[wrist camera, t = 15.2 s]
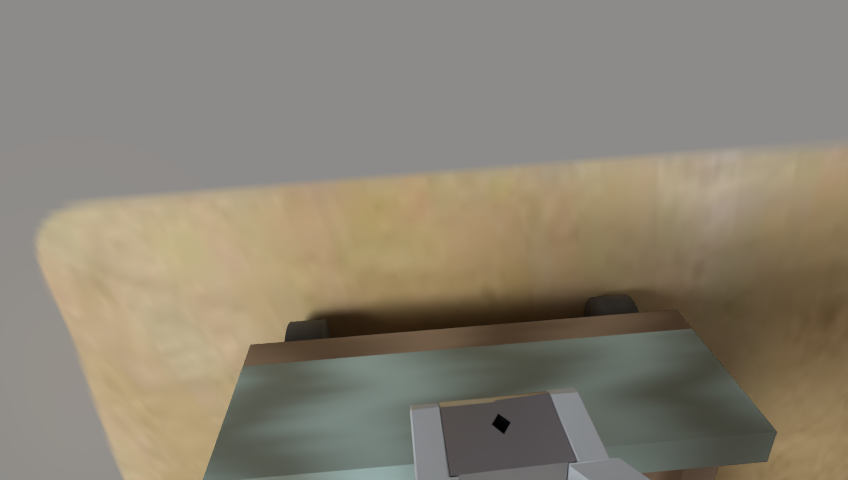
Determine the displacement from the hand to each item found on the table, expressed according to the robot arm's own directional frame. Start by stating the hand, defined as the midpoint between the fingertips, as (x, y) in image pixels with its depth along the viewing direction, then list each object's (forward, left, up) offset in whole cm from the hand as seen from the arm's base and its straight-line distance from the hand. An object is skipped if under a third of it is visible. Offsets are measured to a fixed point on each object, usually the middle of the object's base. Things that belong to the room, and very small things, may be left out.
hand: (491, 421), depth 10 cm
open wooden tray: (-1, +13, -12) cm, 18 cm away
